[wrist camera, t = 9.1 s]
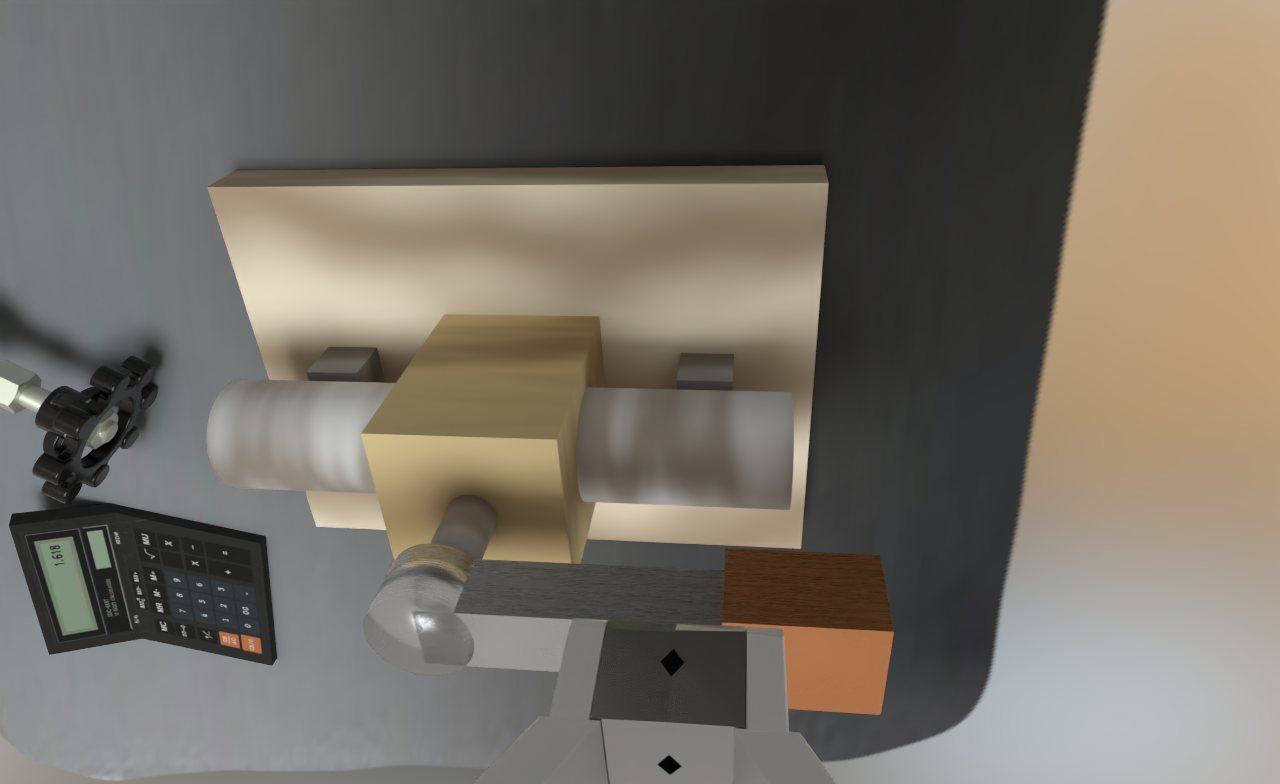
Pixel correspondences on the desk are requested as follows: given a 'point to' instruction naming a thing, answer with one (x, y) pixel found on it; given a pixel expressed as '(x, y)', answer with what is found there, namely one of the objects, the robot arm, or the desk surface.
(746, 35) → the desk surface
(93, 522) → the calculator
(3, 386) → the valve
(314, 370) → the valve stand
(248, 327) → the desk surface
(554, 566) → the valve lever
